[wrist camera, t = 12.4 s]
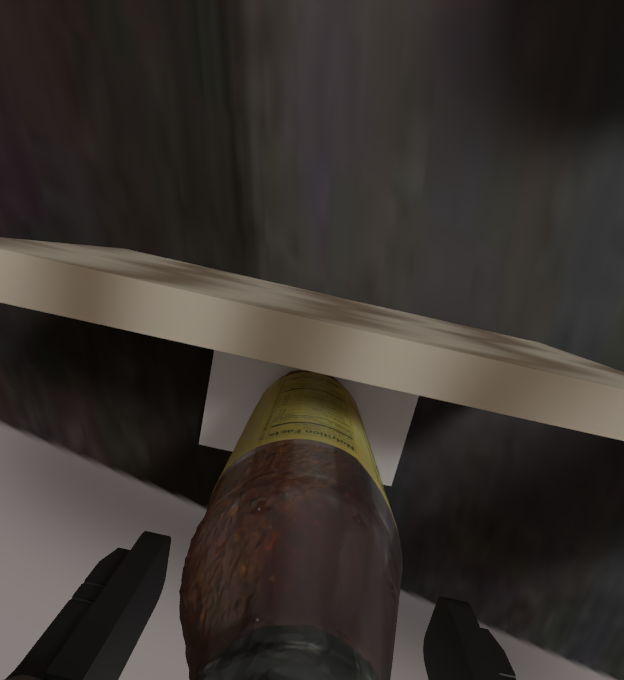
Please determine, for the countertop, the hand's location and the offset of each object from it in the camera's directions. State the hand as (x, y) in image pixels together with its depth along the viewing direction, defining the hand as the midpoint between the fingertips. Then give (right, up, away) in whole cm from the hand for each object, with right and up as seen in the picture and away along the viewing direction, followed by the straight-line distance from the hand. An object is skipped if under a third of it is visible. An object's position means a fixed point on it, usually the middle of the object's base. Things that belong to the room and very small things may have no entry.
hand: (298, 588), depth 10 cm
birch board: (+2, +9, +11) cm, 15 cm away
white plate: (0, +3, +13) cm, 13 cm away
